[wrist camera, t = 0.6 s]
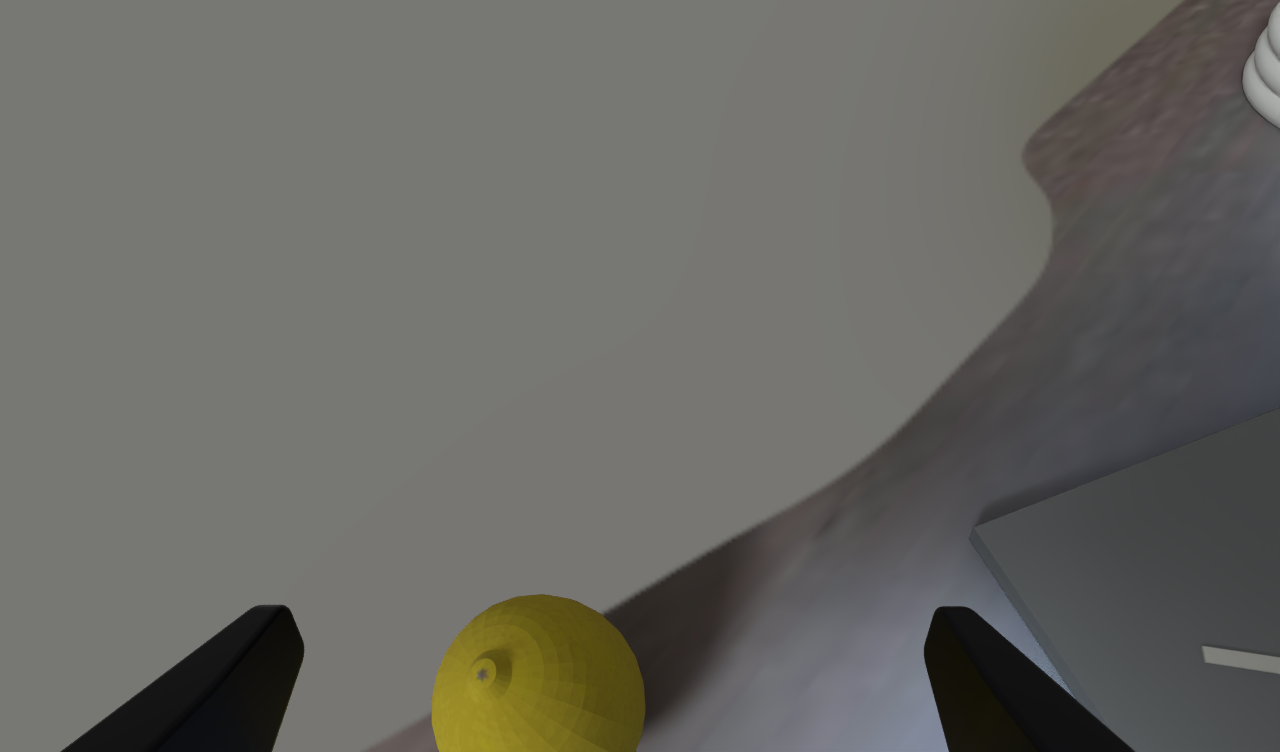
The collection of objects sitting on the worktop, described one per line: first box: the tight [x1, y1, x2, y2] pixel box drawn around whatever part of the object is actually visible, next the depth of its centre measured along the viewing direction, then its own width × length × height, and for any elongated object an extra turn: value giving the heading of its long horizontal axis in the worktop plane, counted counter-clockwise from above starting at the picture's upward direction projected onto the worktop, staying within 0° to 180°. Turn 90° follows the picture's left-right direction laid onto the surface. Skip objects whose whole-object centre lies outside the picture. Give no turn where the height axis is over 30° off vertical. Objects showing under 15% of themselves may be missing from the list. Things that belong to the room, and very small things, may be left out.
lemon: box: [432, 594, 646, 752], centre depth 18 cm, size 6×6×8 cm
